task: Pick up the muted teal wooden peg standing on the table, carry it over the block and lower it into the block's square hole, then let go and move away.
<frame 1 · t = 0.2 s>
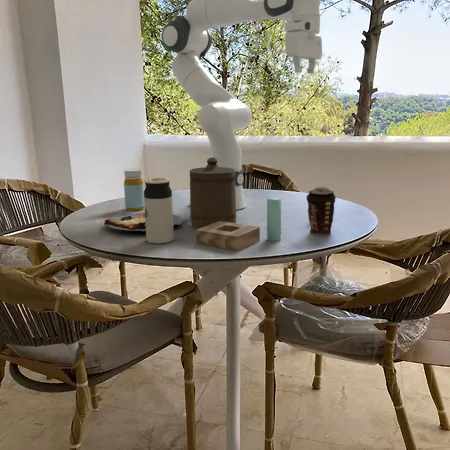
hand: (304, 73, 157), 48 cm above the table, tool pointing down, fingers open, 8 cm apart
peg: (273, 239, 142), on the table
socket block: (228, 241, 141), on the table
coffee cup: (320, 233, 148), on the table
wooden container: (213, 225, 160), on the table
bottle: (135, 209, 184), on the table
food plate: (143, 227, 160), on the table
cork: (320, 219, 166), on the table
travel mug: (160, 241, 143), on the table
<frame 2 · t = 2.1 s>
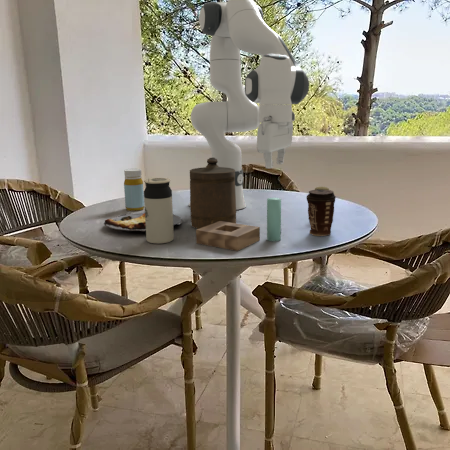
hand: (274, 166, 137), 21 cm above the table, tool pointing down, fingers open, 8 cm apart
nothing on the table moved.
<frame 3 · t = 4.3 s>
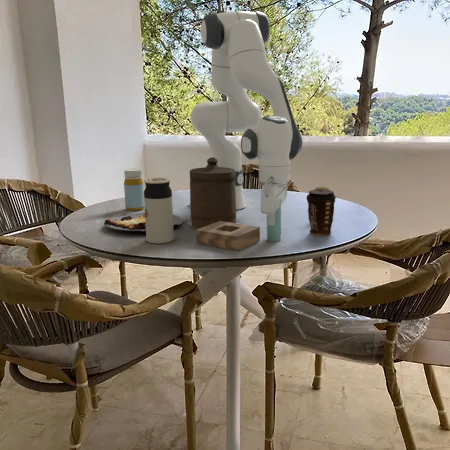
hand: (273, 222, 141), 5 cm above the table, tool pointing down, fingers closed on peg, 4 cm apart
peg: (273, 239, 142), on the table, touching gripper
everything else where it was.
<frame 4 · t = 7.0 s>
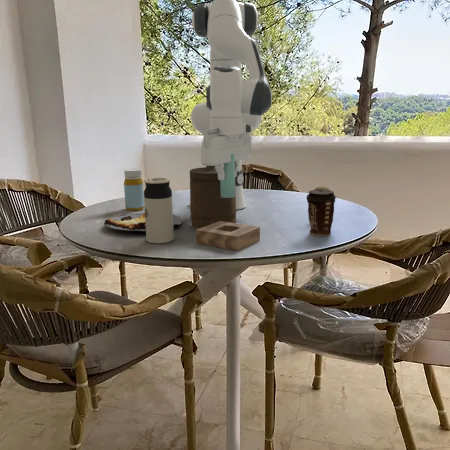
hand: (227, 178, 136), 18 cm above the table, tool pointing down, fingers closed on peg, 4 cm apart
peg: (227, 196, 137), point 13 cm above the table, touching gripper
everything else where it was.
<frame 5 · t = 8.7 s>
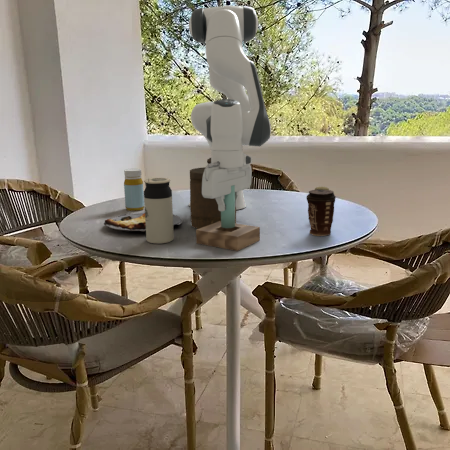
hand: (227, 208, 138), 10 cm above the table, tool pointing down, fingers closed on peg, 4 cm apart
peg: (228, 226, 139), point 5 cm above the table, touching gripper
everything else where it was.
when the fingers open (6 cm above the table, at t = 10.0 s): peg stays where it is, resting in socket block.
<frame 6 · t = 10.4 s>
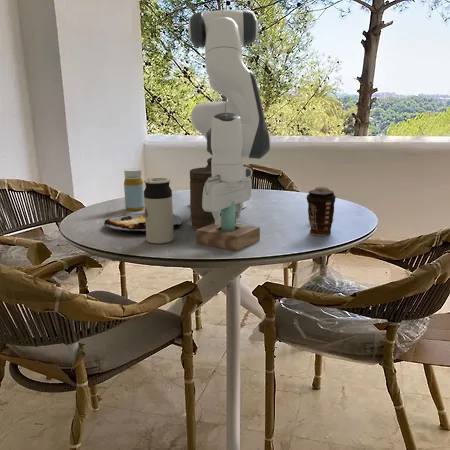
hand: (228, 221, 139), 6 cm above the table, tool pointing down, fingers open, 8 cm apart
peg: (228, 241, 141), resting in socket block
everything else where it was.
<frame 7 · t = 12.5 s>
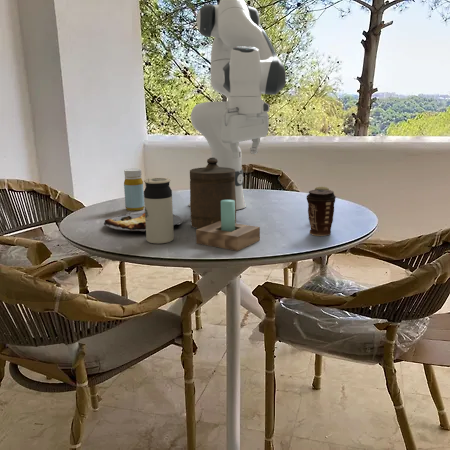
hand: (245, 155, 142), 24 cm above the table, tool pointing down, fingers open, 8 cm apart
nothing on the table moved.
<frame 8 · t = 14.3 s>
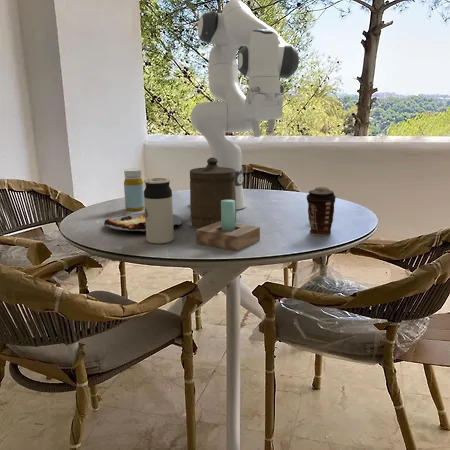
hand: (263, 135, 146), 29 cm above the table, tool pointing down, fingers open, 8 cm apart
nothing on the table moved.
at the end: peg 0.1 cm off-centre in the socket block, point 0.0 cm above the socket block's base; peg tilted 0°; the gripper is holding nothing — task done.
